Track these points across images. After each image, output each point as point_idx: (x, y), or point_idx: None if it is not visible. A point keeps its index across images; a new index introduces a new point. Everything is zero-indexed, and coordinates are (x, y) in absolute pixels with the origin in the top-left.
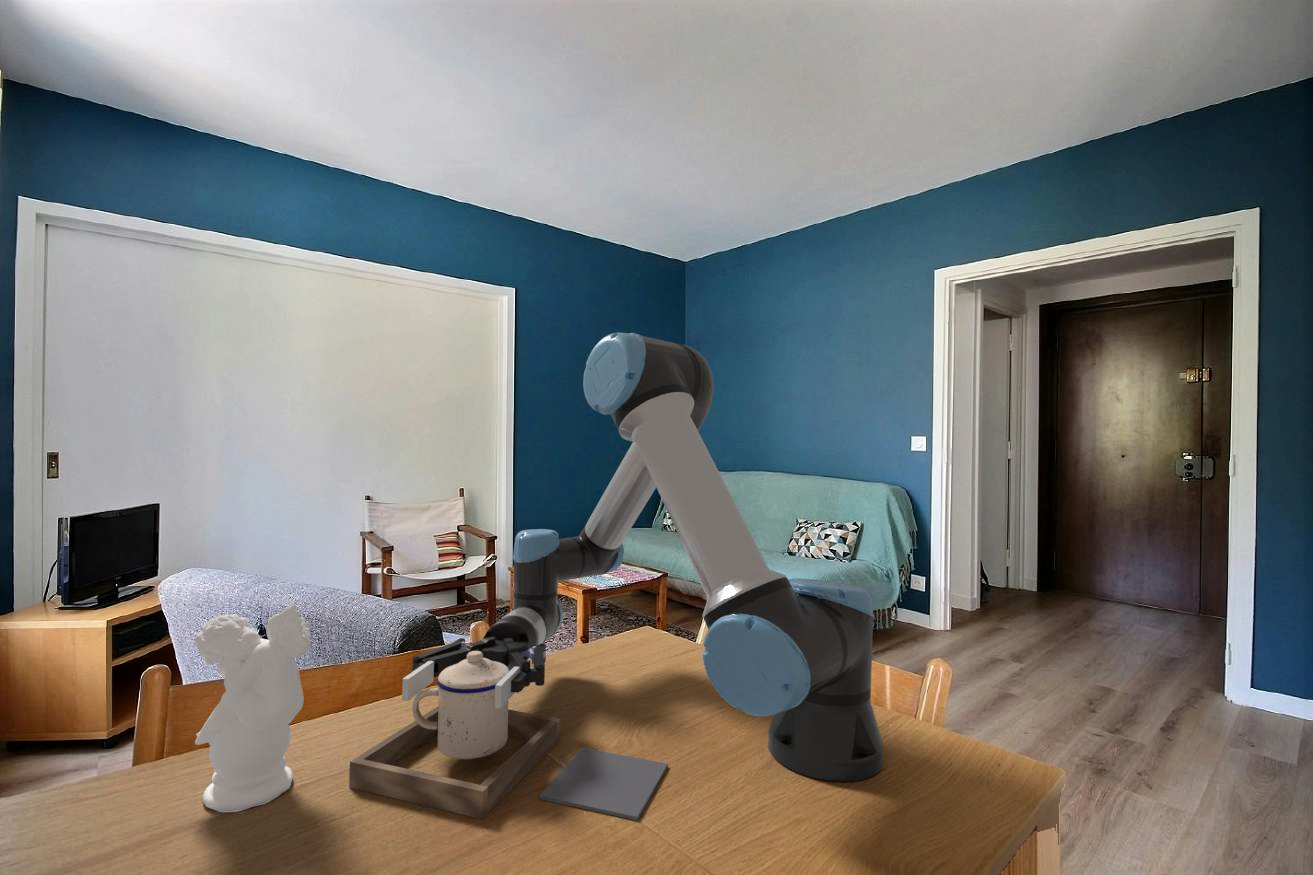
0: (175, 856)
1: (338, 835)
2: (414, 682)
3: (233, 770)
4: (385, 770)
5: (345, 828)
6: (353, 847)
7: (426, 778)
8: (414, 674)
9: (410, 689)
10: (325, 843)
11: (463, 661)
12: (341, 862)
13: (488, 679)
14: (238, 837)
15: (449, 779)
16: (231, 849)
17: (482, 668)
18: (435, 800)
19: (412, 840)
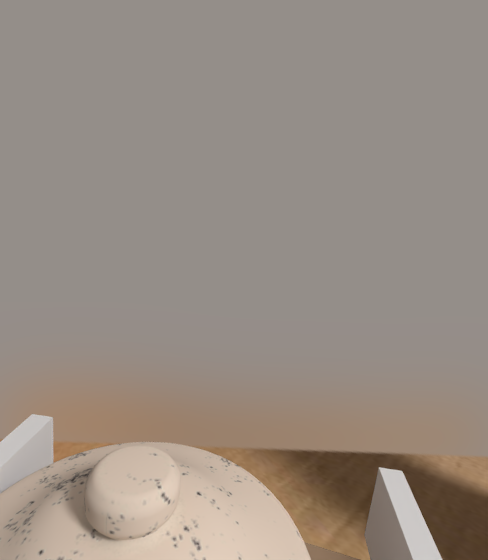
0: (467, 464)
1: (312, 490)
2: (385, 532)
3: None
4: (319, 549)
5: (314, 503)
6: (275, 470)
7: None
8: (395, 507)
9: (375, 521)
10: (317, 478)
11: (197, 510)
12: (273, 451)
13: (68, 462)
14: (440, 490)
15: None
16: (421, 472)
17: (92, 466)
18: None
19: None
